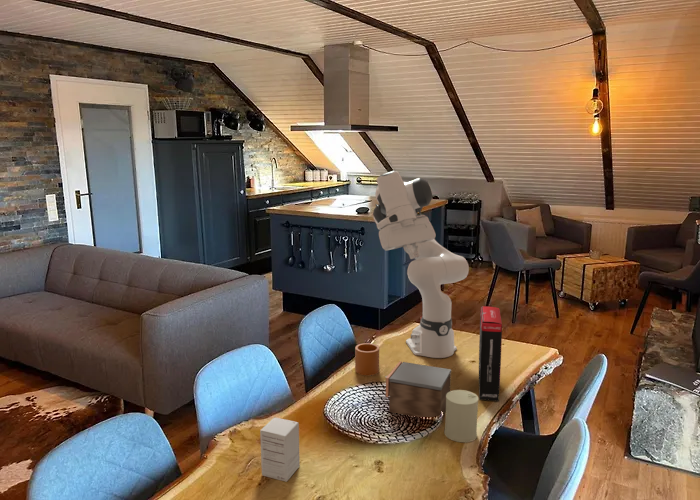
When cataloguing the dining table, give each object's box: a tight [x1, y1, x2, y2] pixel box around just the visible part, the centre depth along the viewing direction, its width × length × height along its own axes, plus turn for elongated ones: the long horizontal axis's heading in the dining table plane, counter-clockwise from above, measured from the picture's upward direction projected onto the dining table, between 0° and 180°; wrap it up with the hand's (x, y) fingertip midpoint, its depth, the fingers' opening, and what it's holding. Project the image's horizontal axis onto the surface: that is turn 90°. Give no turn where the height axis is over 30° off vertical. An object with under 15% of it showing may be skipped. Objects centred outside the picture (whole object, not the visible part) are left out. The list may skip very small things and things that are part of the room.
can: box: [443, 389, 480, 443], centre depth 156 cm, size 9×9×12 cm
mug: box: [354, 342, 380, 376], centre depth 201 cm, size 9×12×9 cm
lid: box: [385, 360, 452, 398], centre depth 171 cm, size 17×14×6 cm
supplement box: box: [259, 417, 301, 482], centre depth 138 cm, size 7×7×13 cm
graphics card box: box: [478, 305, 503, 402], centre depth 182 cm, size 17×7×27 cm, turn 168°
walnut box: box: [388, 373, 452, 417], centre depth 172 cm, size 16×14×10 cm
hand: (415, 257), depth 176 cm, fingers closed
